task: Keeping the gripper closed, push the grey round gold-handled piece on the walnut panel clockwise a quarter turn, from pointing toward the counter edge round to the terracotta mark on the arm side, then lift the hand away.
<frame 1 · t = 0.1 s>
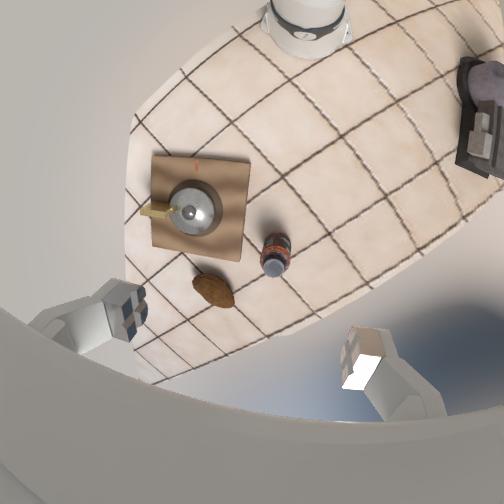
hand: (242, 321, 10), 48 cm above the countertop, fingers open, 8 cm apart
panel: (197, 206, 60), on the countertop
grey round gold-handled piece: (177, 211, 55), point 5 cm above the countertop, hinge at 0.0°
supplement bottle: (278, 244, 61), on the countertop
potato: (218, 282, 68), on the countertop
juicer: (479, 113, 38), on the countertop
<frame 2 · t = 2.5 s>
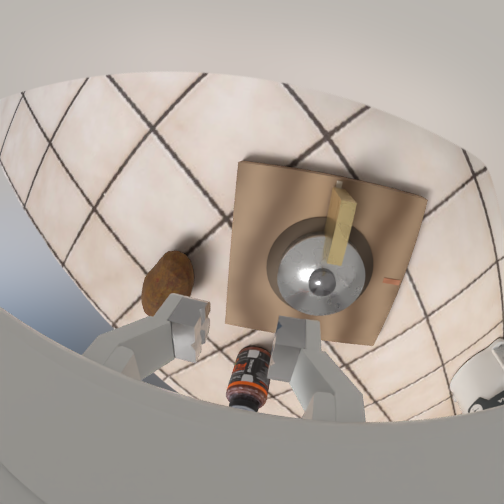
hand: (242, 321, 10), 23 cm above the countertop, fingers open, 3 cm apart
panel: (319, 262, 33), on the countertop
grey round gold-handled piece: (327, 264, 27), point 5 cm above the countertop, hinge at 0.0°
supplement bottle: (255, 356, 42), on the countertop
potato: (177, 275, 38), on the countertop
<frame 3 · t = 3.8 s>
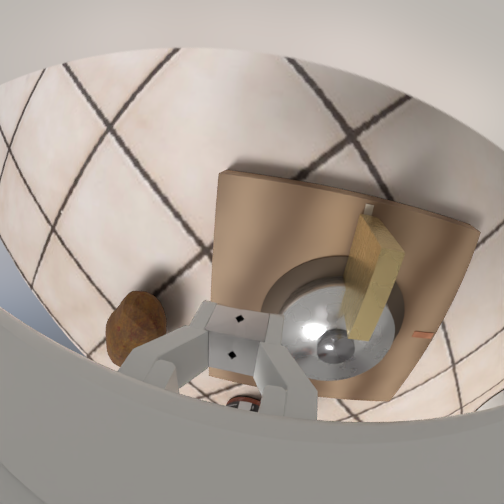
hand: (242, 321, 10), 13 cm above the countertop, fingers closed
panel: (332, 310, 24), on the countertop
grey round gold-handled piece: (346, 327, 18), point 5 cm above the countertop, hinge at 0.0°
supplement bottle: (248, 405, 33), on the countertop
potato: (150, 314, 29), on the countertop
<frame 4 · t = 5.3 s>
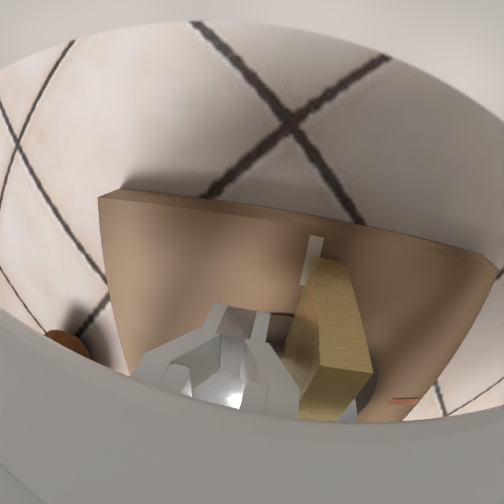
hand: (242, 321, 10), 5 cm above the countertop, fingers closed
panel: (278, 369, 18), on the countertop
grey round gold-handled piece: (279, 417, 12), point 6 cm above the countertop, hinge at -4.0°, touching gripper
potato: (82, 350, 22), on the countertop
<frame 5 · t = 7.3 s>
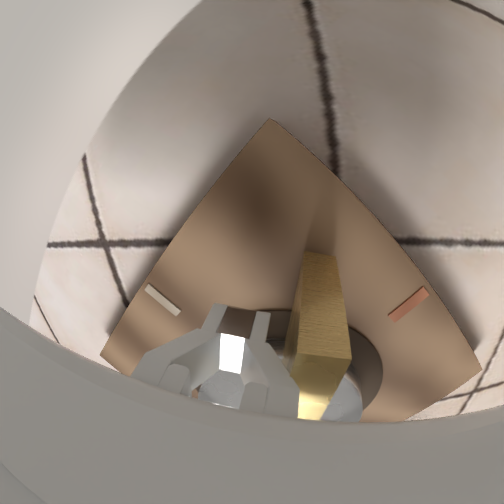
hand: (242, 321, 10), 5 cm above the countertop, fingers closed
panel: (286, 365, 18), on the countertop
grey round gold-handled piece: (284, 410, 12), point 5 cm above the countertop, hinge at -55.6°, touching gripper
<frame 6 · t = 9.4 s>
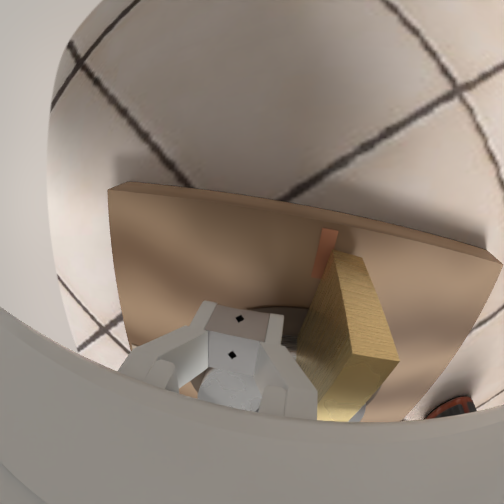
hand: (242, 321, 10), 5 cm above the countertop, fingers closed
panel: (286, 363, 18), on the countertop
grey round gold-handled piece: (292, 410, 12), point 5 cm above the countertop, hinge at -95.1°
supplement bottle: (447, 409, 19), on the countertop
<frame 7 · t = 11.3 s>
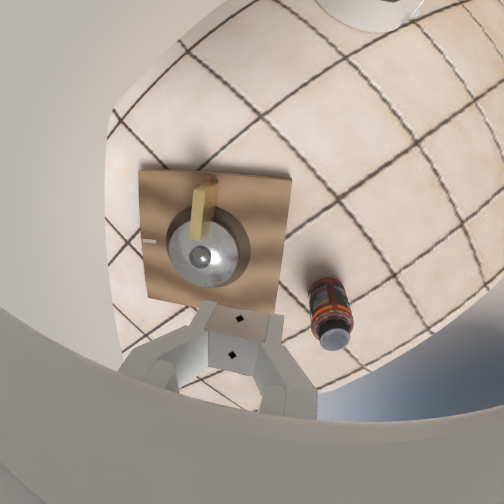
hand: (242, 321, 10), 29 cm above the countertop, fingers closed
panel: (210, 243, 41), on the countertop
grey round gold-handled piece: (200, 241, 35), point 5 cm above the countertop, hinge at -95.1°
supplement bottle: (326, 292, 42), on the countertop
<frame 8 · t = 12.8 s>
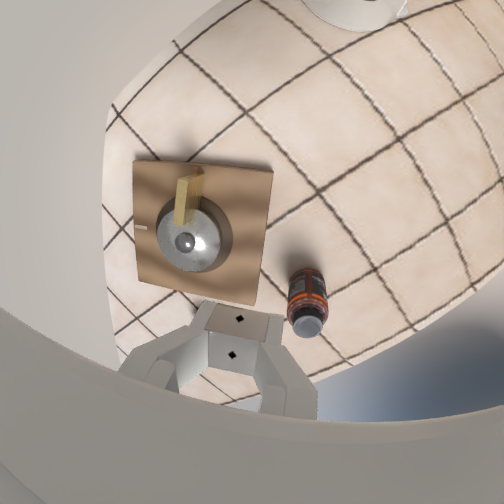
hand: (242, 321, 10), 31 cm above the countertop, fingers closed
panel: (197, 230, 43), on the countertop
grey round gold-handled piece: (185, 228, 37), point 5 cm above the countertop, hinge at -95.1°
supplement bottle: (307, 282, 44), on the countertop
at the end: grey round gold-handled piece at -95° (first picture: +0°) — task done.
